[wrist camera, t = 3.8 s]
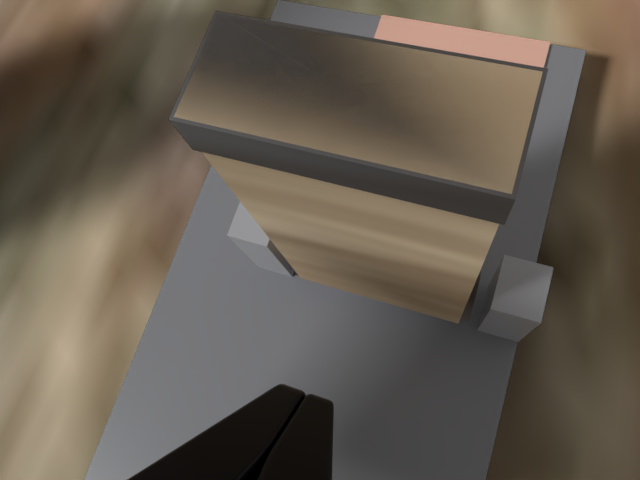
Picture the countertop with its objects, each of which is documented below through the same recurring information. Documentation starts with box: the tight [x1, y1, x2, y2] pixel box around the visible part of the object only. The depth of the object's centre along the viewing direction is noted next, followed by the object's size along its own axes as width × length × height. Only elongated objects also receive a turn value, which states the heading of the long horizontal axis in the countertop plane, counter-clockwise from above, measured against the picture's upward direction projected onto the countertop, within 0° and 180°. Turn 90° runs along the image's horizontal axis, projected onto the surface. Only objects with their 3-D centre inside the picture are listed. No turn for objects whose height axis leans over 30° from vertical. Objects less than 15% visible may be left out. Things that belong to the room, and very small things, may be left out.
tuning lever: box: [168, 11, 548, 324], centre depth 11 cm, size 2×4×9 cm, turn 72°
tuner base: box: [84, 0, 586, 480], centre depth 14 cm, size 20×10×4 cm, turn 162°
